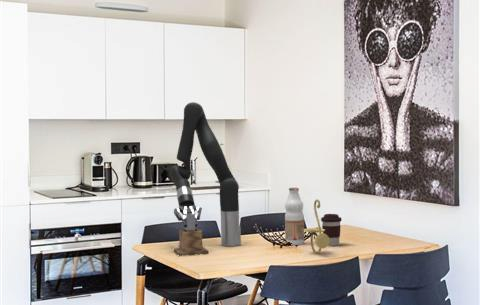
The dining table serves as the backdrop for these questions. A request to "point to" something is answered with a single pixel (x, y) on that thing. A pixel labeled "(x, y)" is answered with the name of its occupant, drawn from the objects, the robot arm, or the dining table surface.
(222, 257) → the dining table surface
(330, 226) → the coffee cup
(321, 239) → the wall sconce
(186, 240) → the wooden flanged block
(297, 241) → the fruit juice
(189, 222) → the grey upright cylinder
